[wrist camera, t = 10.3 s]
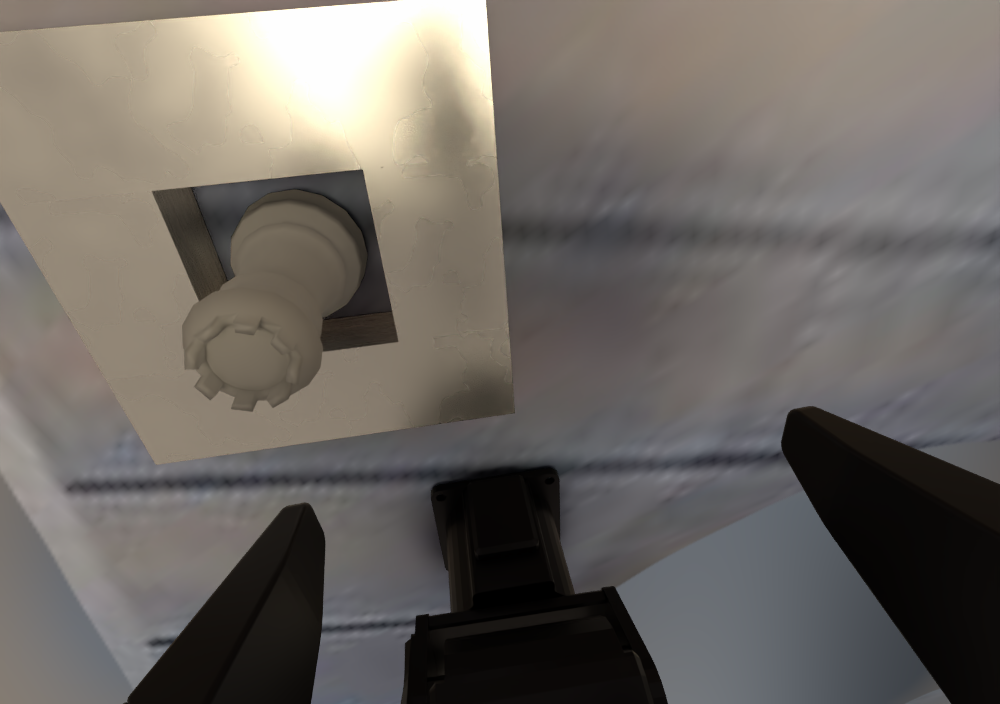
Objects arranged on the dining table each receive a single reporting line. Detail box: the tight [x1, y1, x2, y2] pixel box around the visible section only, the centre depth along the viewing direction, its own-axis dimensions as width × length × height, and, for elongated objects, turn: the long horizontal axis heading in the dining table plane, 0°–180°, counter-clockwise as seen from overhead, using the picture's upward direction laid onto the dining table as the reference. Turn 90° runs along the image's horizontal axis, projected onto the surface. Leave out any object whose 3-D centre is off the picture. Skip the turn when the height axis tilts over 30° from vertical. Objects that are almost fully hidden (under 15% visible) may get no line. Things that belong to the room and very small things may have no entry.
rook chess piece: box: [182, 189, 368, 412], centre depth 15 cm, size 4×4×8 cm
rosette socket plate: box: [0, 0, 515, 465], centre depth 18 cm, size 14×14×2 cm
